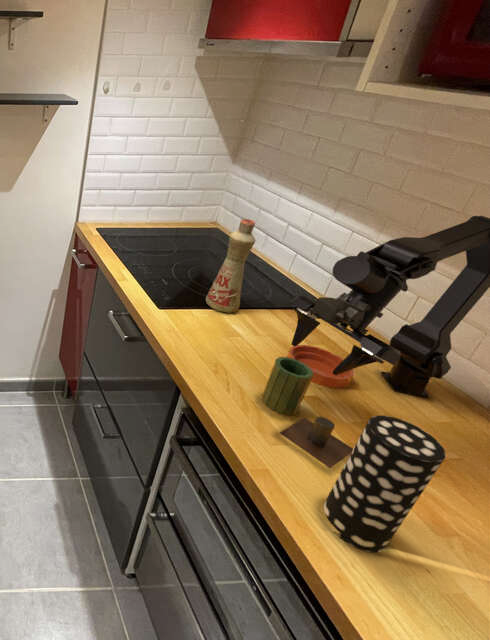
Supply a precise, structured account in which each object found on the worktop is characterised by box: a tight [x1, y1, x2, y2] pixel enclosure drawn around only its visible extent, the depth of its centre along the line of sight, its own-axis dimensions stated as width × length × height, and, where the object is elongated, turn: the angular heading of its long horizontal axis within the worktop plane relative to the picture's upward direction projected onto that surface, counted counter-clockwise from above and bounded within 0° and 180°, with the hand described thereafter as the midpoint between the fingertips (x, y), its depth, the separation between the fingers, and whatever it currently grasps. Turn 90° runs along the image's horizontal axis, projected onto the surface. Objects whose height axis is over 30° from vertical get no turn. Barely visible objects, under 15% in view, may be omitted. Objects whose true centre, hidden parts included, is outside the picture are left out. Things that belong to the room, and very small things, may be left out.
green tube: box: [260, 356, 313, 416], centre depth 94 cm, size 6×6×11 cm
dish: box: [286, 344, 355, 389], centre depth 106 cm, size 12×12×4 cm
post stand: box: [279, 416, 354, 469], centre depth 86 cm, size 9×9×6 cm
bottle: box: [205, 218, 257, 314], centre depth 127 cm, size 9×9×28 cm
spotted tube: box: [323, 415, 447, 553], centre depth 69 cm, size 8×8×20 cm
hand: (312, 359), depth 92 cm, fingers open, 9 cm apart
